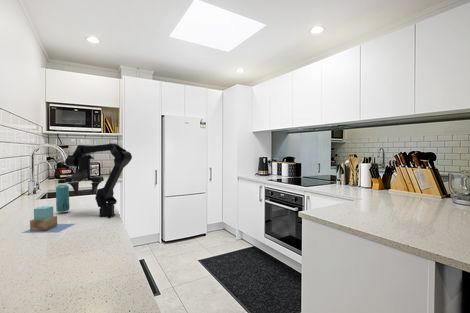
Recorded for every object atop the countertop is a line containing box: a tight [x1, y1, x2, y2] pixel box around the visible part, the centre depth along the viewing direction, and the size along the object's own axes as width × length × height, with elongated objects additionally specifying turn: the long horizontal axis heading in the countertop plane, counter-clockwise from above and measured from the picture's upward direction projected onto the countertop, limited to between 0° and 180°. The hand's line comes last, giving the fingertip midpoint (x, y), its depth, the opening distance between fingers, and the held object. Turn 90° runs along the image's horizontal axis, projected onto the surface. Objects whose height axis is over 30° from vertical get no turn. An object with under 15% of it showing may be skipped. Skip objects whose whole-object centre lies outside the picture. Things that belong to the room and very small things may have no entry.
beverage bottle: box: [55, 178, 70, 213], centre depth 139 cm, size 6×7×20 cm
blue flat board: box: [21, 223, 76, 234], centre depth 110 cm, size 16×12×1 cm
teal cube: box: [33, 205, 54, 220], centre depth 109 cm, size 5×5×5 cm
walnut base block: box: [29, 215, 58, 231], centre depth 109 cm, size 7×7×5 cm
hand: (84, 194), depth 134 cm, fingers open, 9 cm apart
